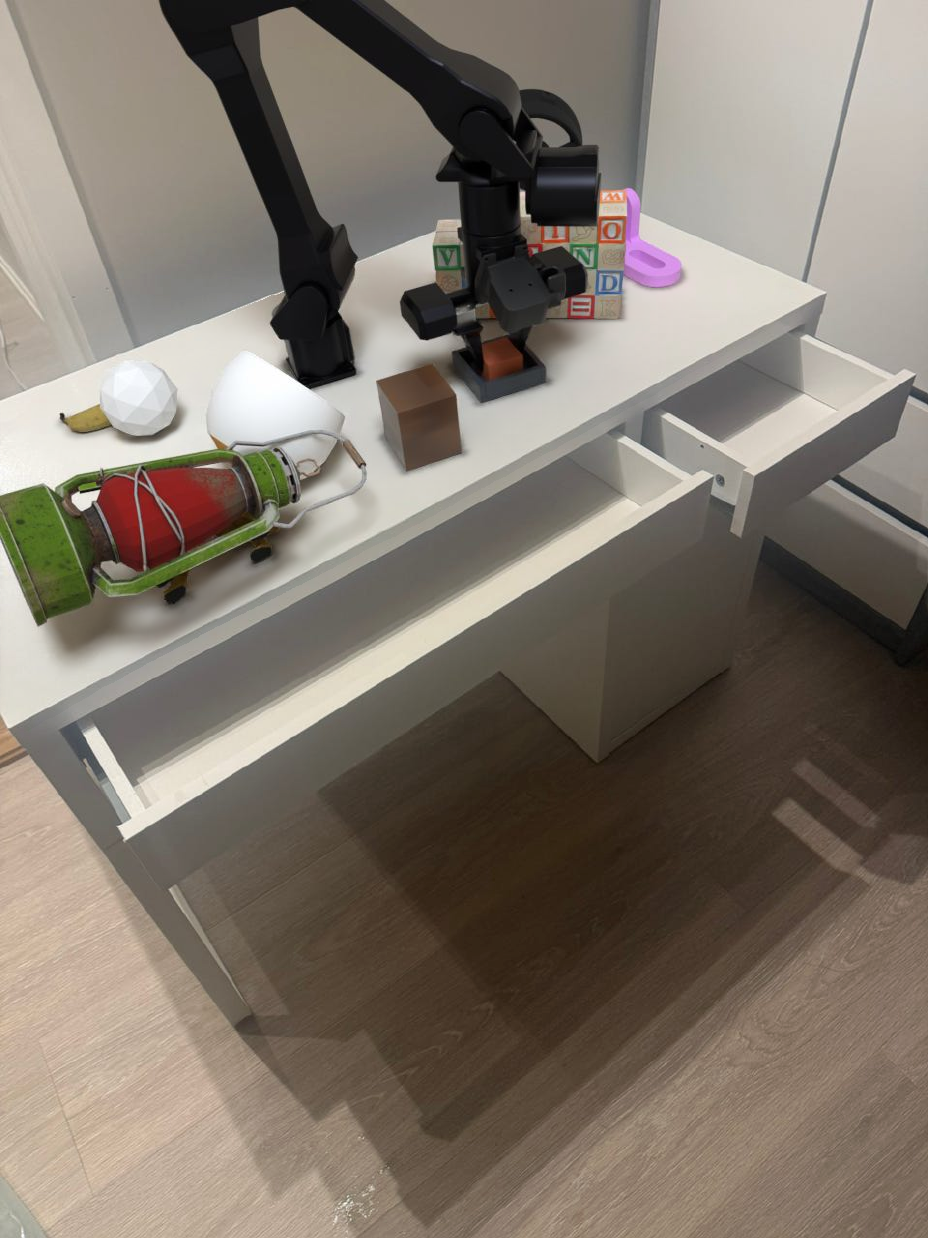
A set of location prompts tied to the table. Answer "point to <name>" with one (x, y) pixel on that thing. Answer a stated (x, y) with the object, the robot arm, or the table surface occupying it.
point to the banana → (87, 420)
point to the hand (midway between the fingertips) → (498, 364)
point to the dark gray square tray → (504, 385)
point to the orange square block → (500, 359)
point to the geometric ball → (138, 397)
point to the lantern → (146, 521)
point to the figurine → (260, 542)
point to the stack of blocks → (586, 244)
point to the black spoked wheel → (551, 114)
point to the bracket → (646, 253)
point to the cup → (270, 412)
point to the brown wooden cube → (419, 416)
